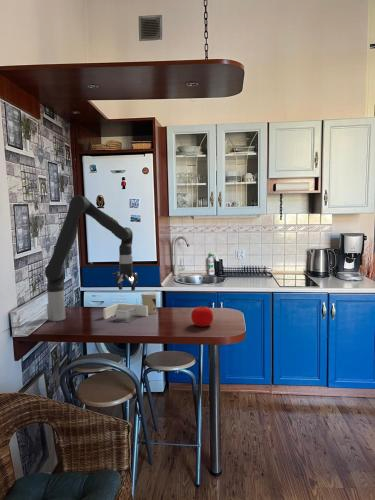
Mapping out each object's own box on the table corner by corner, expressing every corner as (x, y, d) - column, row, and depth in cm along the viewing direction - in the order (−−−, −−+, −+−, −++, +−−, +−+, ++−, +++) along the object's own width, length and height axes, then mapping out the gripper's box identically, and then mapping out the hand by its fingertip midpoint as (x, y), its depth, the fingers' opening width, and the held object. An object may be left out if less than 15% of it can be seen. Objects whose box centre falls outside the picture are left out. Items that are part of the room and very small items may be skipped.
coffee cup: (156, 314, 225) (155, 294, 224) (141, 314, 225) (140, 295, 224) (158, 310, 234) (157, 291, 233) (143, 310, 235) (142, 291, 233)
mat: (113, 320, 214) (113, 320, 214) (125, 315, 224) (125, 314, 224) (128, 322, 209) (128, 322, 209) (139, 317, 220) (139, 316, 220)
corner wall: (103, 318, 219) (103, 308, 218) (118, 312, 232) (118, 302, 231) (134, 322, 209) (133, 312, 209) (148, 315, 222) (147, 305, 222)
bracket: (126, 320, 213) (126, 311, 212) (116, 319, 216) (115, 310, 215) (136, 315, 222) (135, 307, 221) (126, 314, 225) (125, 306, 224)
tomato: (214, 328, 195) (214, 308, 194) (192, 329, 194) (191, 309, 193) (211, 321, 207) (211, 303, 206) (190, 322, 206) (190, 304, 205)
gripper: (139, 262, 215) (140, 289, 216) (119, 261, 221) (120, 288, 223) (132, 263, 208) (133, 292, 210) (111, 262, 214) (112, 290, 216)
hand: (126, 290), depth 216 cm, fingers open, 8 cm apart
